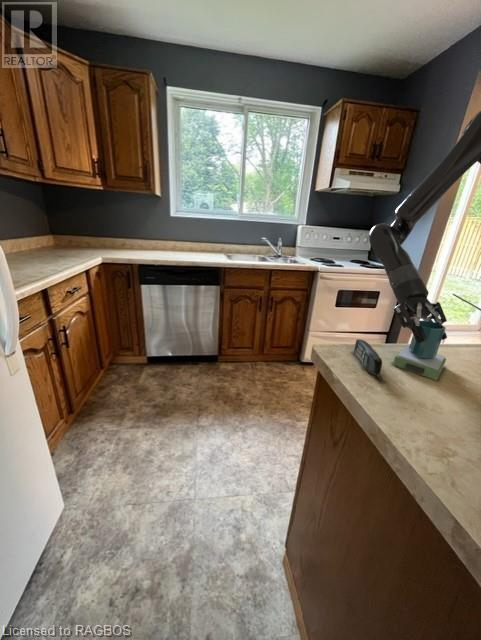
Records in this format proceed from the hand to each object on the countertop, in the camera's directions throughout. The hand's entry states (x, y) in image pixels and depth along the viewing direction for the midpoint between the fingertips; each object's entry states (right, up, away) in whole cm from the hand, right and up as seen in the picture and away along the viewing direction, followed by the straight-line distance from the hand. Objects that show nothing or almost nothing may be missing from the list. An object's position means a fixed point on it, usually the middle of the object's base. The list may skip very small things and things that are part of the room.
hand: (432, 340), depth 69 cm
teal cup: (-1, -4, +3) cm, 5 cm away
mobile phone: (-15, -7, +3) cm, 17 cm away
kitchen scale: (-1, -7, +4) cm, 9 cm away
